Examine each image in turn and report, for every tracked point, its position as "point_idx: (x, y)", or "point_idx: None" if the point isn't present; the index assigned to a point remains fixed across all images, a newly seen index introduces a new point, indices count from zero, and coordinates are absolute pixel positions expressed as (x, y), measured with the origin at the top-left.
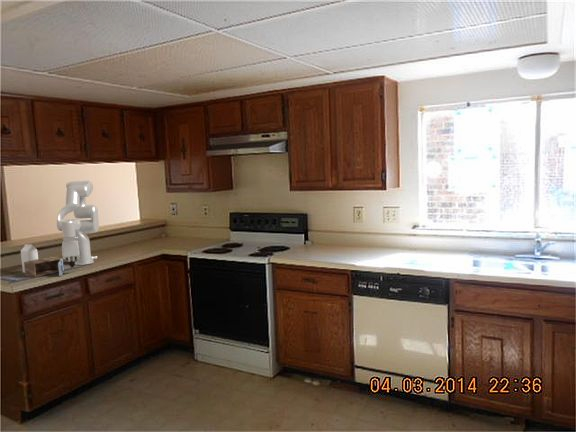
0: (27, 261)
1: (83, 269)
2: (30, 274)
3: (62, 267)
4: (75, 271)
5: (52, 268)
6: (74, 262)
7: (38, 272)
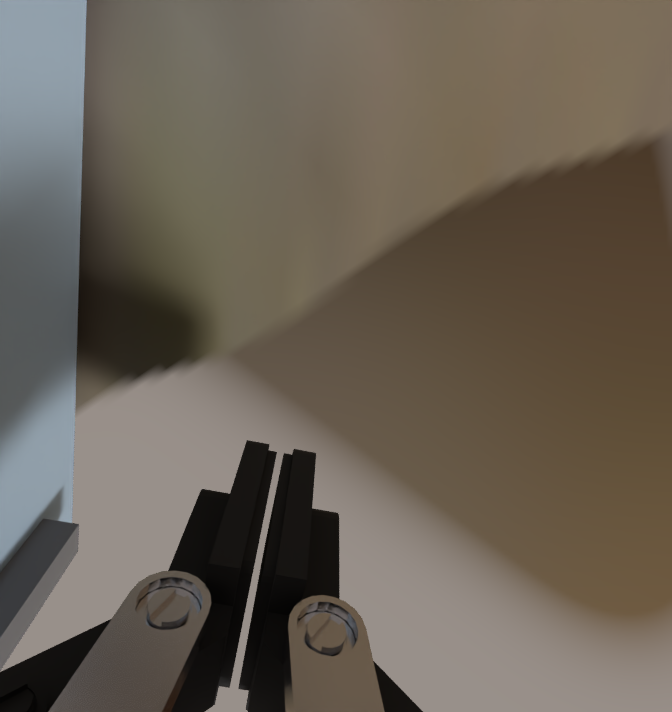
0: None
1: (584, 121)
2: None
3: (15, 640)
4: (366, 241)
5: None
6: (337, 576)
7: None
